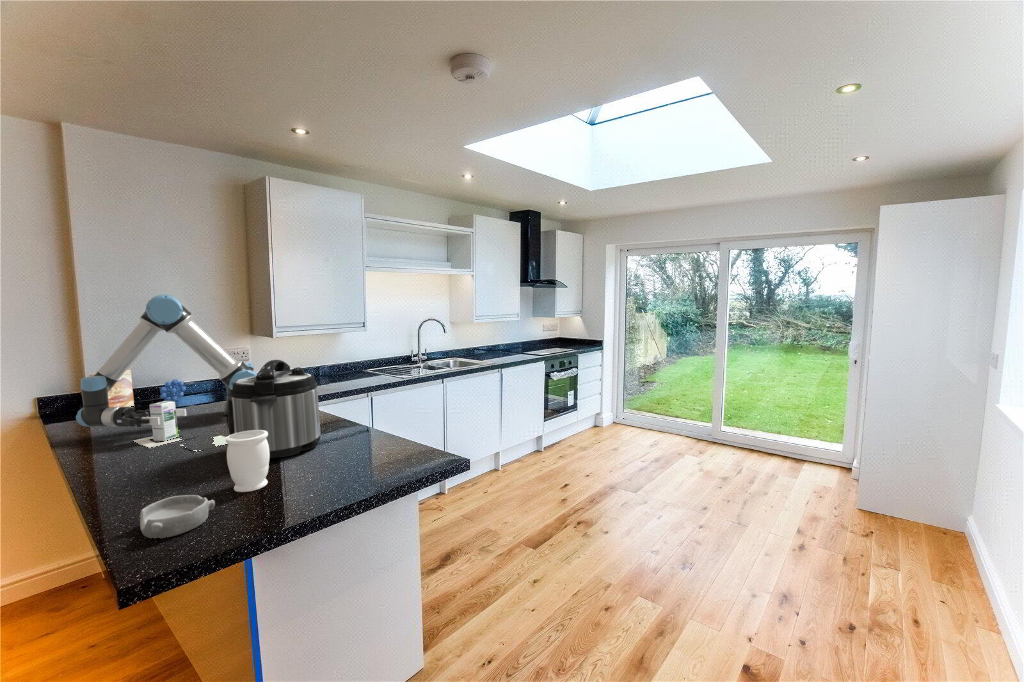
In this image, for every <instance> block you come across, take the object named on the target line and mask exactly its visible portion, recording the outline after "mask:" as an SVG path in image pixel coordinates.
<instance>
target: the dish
mask: <svg viewBox="0 0 1024 682" xmlns="http://www.w3.org/2000/svg"><path fill="white" fill-rule="evenodd" d="M215 505H216V501H215V500H214V499H211V500H208V498H207V497H202V496H200V495H197V494H186V495H185V494H184V495H175V496H170V497H167V498H163V499H161V500H158V501H156V502H152V503H151V504H148V505H147V506H146V507H144V508H142V509H141V510H140V513H139V514H140V515H139V526H140V527H139V528H140V531H141V533H142V535H143V536H144V537H146V538H148V539H152V538H154V540H155V539H156V538H160V539H165V538H166V537H167V538H171V537H174V536H175V537H176V536H178V535H181V534H184V533H187V532H189V531H191V530H193V529H196V528H197V527H199V526H200V525H203V523H205V522H206V520H207V519H208V517H209V512H210V510H213V509H214V508H215ZM156 540H157V539H156Z"/></svg>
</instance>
